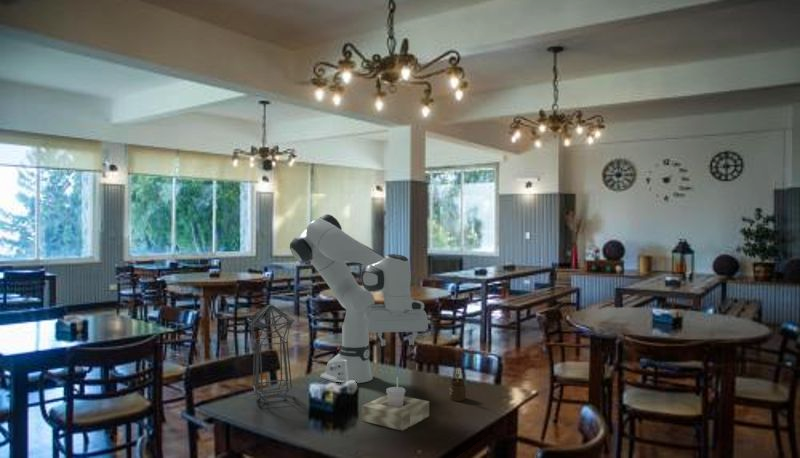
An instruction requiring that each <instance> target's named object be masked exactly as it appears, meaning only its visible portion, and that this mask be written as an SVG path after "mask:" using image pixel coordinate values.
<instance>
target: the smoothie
mask: <svg viewBox="0 0 800 458" xmlns="http://www.w3.org/2000/svg"><path fill="white" fill-rule="evenodd" d="M385 390H386V391H385V393H386V395H388V404H389V406H390V407H394V408H401V407H403V401H404V396H405V393H406V389H405V388H404V387H402V386H399V375H398V376H396V386H391V387H388V388H386V389H385Z"/></svg>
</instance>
